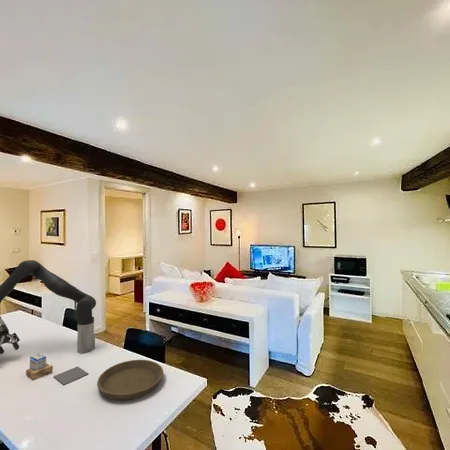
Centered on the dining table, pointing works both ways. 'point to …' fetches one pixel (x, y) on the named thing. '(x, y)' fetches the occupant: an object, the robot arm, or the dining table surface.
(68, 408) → the dining table surface
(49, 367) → the bracket
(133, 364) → the plant saucer
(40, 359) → the medicine box
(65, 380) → the mat
